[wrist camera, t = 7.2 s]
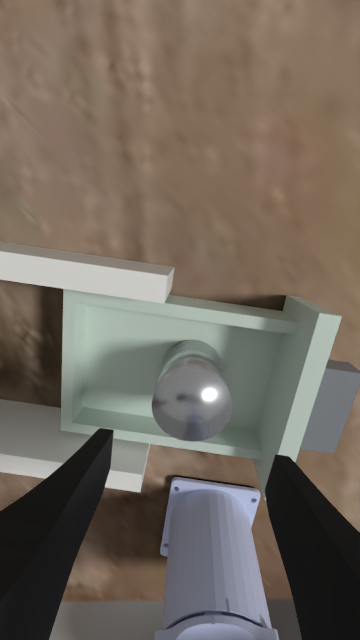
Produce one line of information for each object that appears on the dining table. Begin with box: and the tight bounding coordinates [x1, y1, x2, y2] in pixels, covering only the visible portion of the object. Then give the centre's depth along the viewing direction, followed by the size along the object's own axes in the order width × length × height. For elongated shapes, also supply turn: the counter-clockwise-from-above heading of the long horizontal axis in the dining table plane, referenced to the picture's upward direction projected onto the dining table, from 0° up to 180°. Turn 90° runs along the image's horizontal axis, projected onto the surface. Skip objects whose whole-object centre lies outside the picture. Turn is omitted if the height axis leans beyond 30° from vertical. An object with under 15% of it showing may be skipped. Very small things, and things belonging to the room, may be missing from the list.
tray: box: [61, 289, 360, 500], centre depth 19 cm, size 13×19×5 cm
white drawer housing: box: [0, 241, 174, 492], centre depth 18 cm, size 15×16×6 cm
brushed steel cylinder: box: [152, 340, 232, 442], centre depth 18 cm, size 5×5×5 cm
